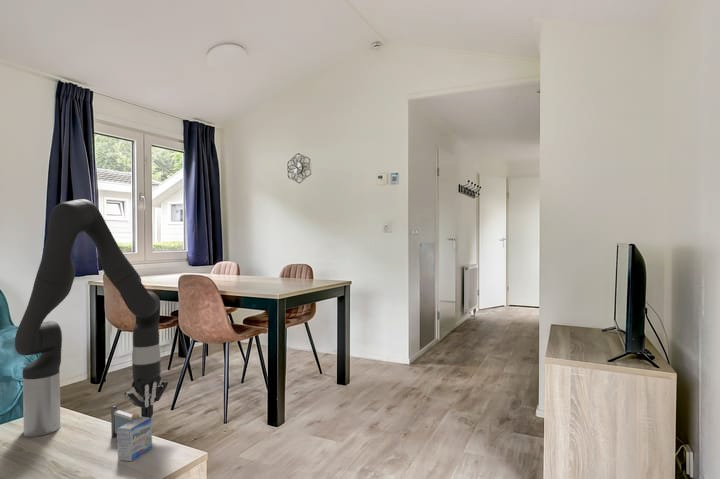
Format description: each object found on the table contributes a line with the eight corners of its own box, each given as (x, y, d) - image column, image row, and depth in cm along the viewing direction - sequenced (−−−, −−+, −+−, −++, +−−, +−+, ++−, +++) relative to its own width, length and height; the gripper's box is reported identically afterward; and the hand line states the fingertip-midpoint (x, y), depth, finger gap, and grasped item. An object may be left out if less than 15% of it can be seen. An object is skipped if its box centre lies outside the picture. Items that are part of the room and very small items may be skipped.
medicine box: (131, 462, 116) (130, 429, 116) (117, 460, 117) (116, 427, 117) (152, 448, 123) (152, 417, 123) (139, 446, 124) (138, 415, 124)
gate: (114, 434, 130) (114, 409, 130) (119, 433, 131) (118, 408, 131) (134, 442, 125) (134, 416, 125) (139, 440, 126) (138, 414, 126)
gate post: (110, 436, 131) (109, 406, 131) (115, 434, 132) (115, 404, 132) (113, 438, 130) (113, 407, 130) (118, 435, 131) (118, 405, 131)
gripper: (132, 367, 123) (133, 429, 123) (174, 356, 134) (175, 413, 134) (117, 363, 127) (118, 423, 127) (158, 353, 138) (159, 408, 138)
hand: (147, 418), depth 130 cm, fingers closed
